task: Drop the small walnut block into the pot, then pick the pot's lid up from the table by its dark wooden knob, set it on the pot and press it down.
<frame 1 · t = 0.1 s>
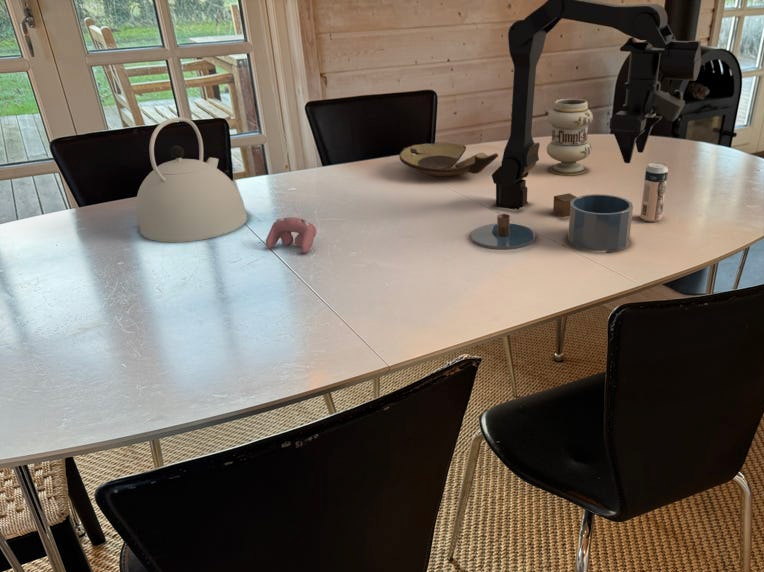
hand: (633, 157, 138), 15 cm above the table, tool pointing down, fingers open, 9 cm apart
pot: (597, 241, 138), on the table
block: (565, 215, 152), on the table
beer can: (650, 219, 149), on the table
oil lamp: (446, 175, 181), on the table
lid: (503, 237, 139), point 1 cm above the table
kettle: (197, 222, 151), on the table
video game controller: (293, 248, 137), on the table
apothecary jar: (567, 170, 183), on the table
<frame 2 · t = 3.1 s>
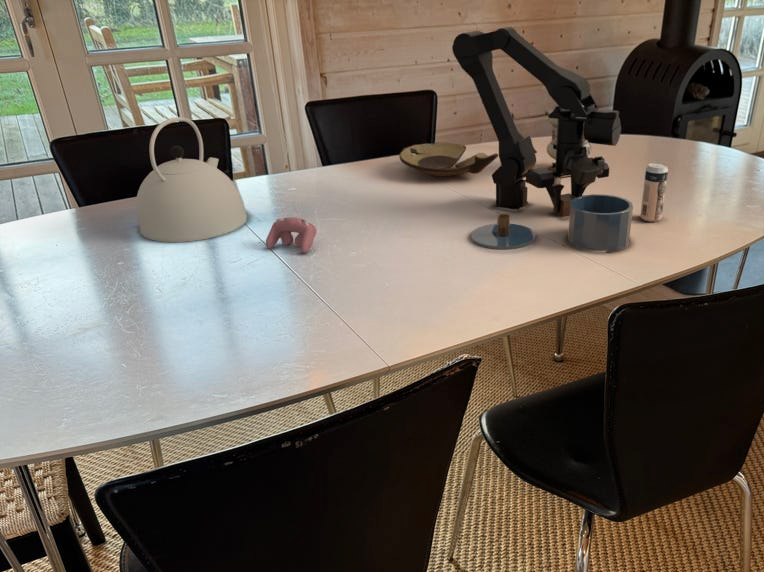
hand: (565, 210, 151), 1 cm above the table, tool pointing down, fingers closed on block, 4 cm apart
block: (565, 215, 152), on the table, touching gripper
everything else where it was.
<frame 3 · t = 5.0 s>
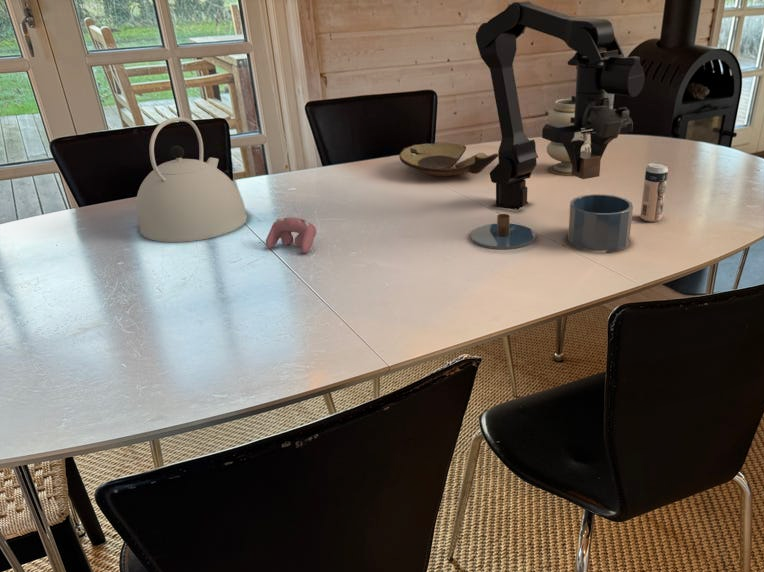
hand: (585, 170, 139), 12 cm above the table, tool pointing down, fingers closed on block, 4 cm apart
block: (585, 175, 139), point 11 cm above the table, touching gripper
everything else where it was.
when the fingers open (8 cm above the table, at t = 7.3 s): block drops 6 cm, resting on pot.
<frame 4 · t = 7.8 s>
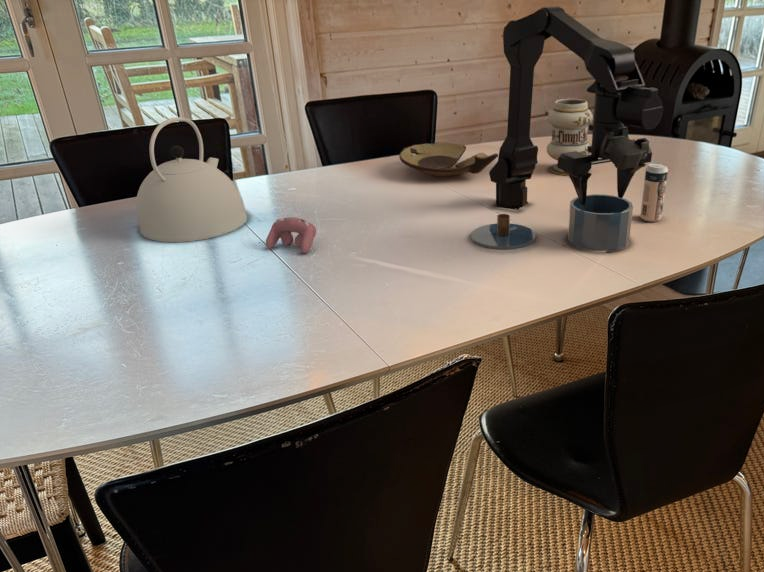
hand: (601, 201, 134), 9 cm above the table, tool pointing down, fingers open, 9 cm apart
block: (598, 239, 138), point 1 cm above the table, touching pot
everything else where it was.
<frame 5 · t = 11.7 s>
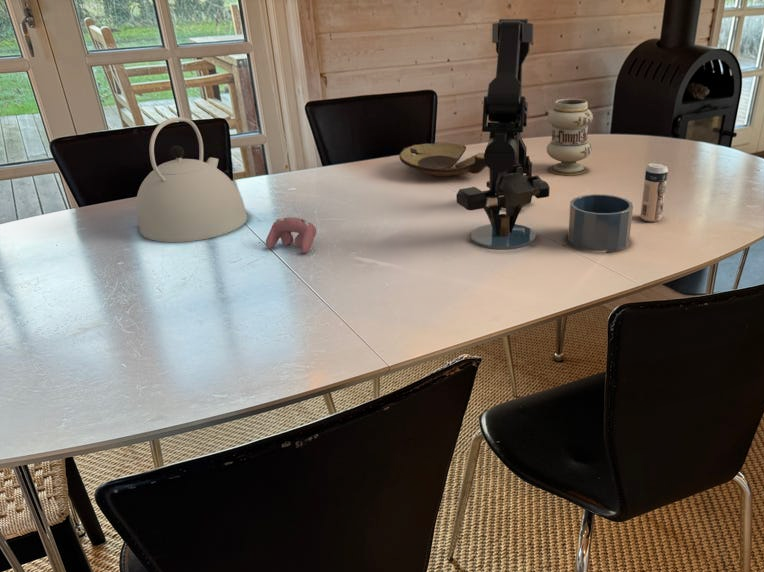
hand: (503, 233, 139), 1 cm above the table, tool pointing down, fingers closed on lid, 3 cm apart
lid: (503, 237, 139), point 1 cm above the table, touching gripper
everything else where it was.
when the fingers open (9 cm above the table, at t = 15.9 s): lid stays where it is, resting on pot.
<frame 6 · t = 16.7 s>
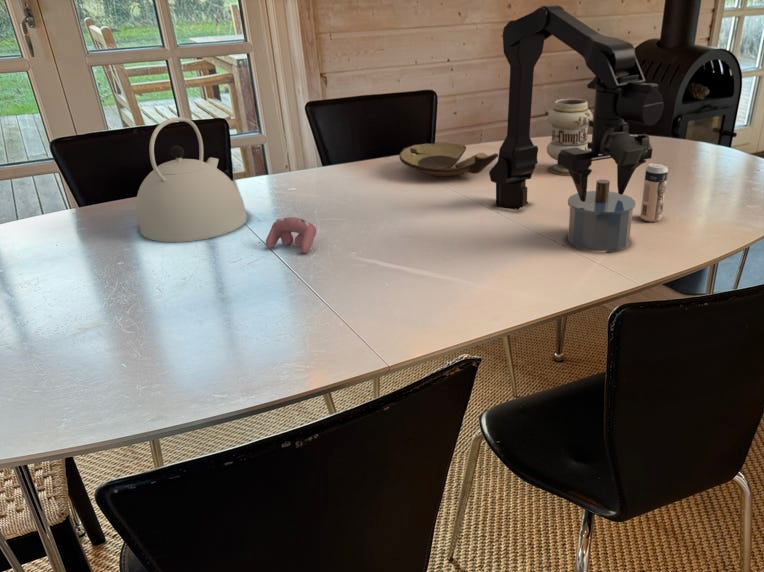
hand: (601, 197, 133), 9 cm above the table, tool pointing down, fingers open, 9 cm apart
lid: (601, 203, 134), point 8 cm above the table, touching pot
everything else where it was.
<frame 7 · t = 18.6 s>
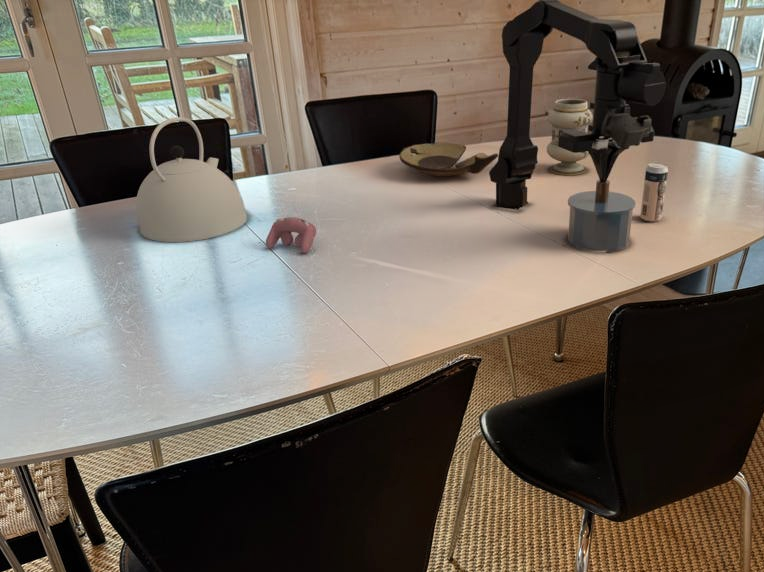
hand: (603, 181, 132), 13 cm above the table, tool pointing down, fingers closed, pressing on lid
lid: (601, 203, 134), point 8 cm above the table, touching pot, gripper
everything else where it was.
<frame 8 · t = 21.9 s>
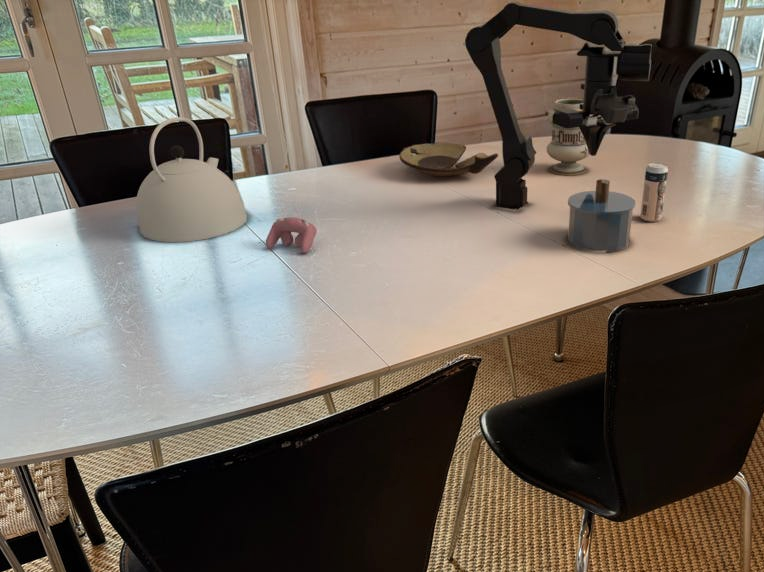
hand: (592, 155, 146), 13 cm above the table, tool pointing down, fingers closed
lid: (601, 203, 134), point 8 cm above the table, touching pot
everything else where it was.
at the end: lid 0.1 cm off-centre on the pot, point 8.0 cm above the pot's base; lid tilted 0°; block inside the target area in the pot (0.0 cm from its centre), point 0.5 cm above the pot's base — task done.
